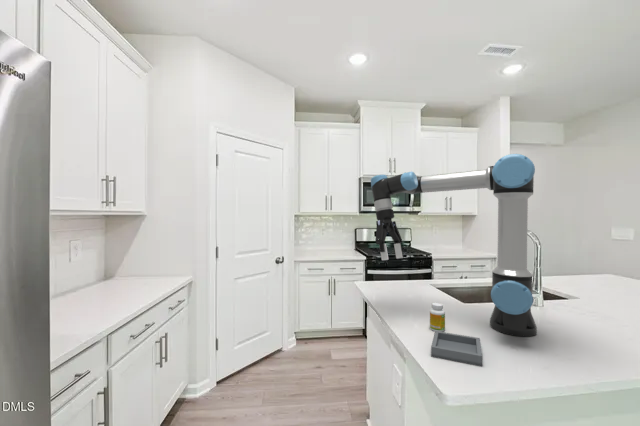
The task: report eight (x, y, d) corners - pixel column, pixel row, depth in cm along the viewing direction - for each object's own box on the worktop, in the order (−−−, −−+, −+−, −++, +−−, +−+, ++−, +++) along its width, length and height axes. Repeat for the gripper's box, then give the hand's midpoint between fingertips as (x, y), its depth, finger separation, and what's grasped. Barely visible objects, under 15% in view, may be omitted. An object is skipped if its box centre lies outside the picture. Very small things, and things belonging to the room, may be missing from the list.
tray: (480, 347, 98) (479, 338, 98) (482, 366, 85) (482, 356, 85) (435, 339, 104) (435, 330, 104) (431, 356, 91) (431, 346, 91)
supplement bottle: (443, 333, 109) (443, 307, 109) (428, 330, 112) (428, 304, 112) (446, 328, 114) (445, 303, 114) (431, 325, 117) (431, 301, 117)
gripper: (389, 213, 140) (397, 258, 136) (361, 210, 120) (370, 262, 116) (404, 210, 135) (412, 256, 131) (377, 206, 116) (387, 259, 112)
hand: (392, 259), depth 124 cm, fingers open, 13 cm apart
